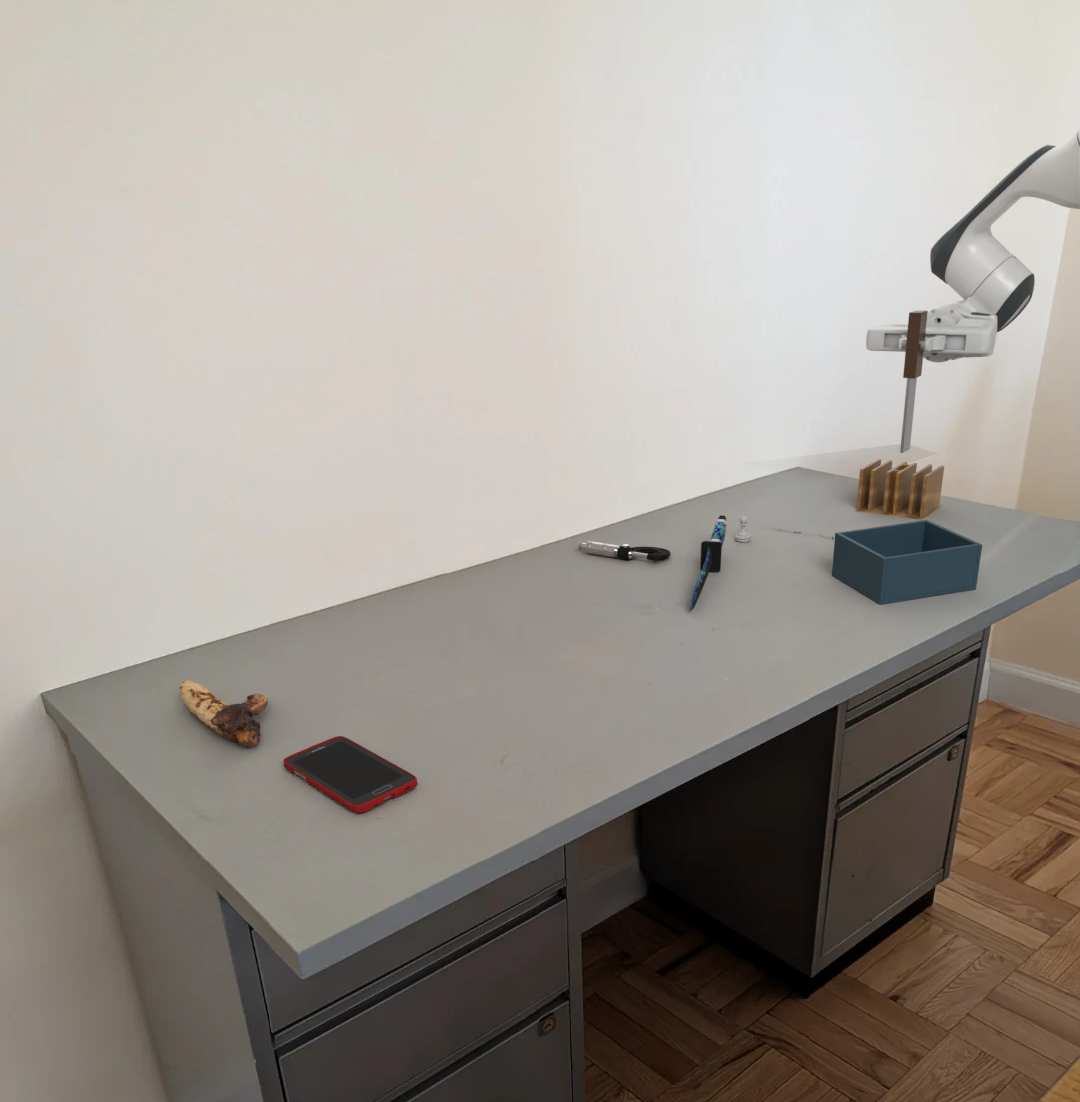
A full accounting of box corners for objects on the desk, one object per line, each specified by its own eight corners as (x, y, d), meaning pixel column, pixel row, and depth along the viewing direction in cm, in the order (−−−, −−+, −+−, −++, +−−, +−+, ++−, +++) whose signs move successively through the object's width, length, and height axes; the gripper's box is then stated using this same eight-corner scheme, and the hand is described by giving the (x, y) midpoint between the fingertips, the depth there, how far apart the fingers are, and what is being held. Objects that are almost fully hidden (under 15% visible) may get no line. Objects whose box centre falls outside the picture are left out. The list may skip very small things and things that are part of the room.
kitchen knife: (895, 452, 174) (908, 312, 164) (902, 448, 176) (915, 310, 167) (907, 453, 173) (921, 312, 163) (914, 449, 175) (928, 310, 165)
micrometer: (678, 553, 168) (678, 538, 167) (656, 566, 163) (656, 551, 162) (599, 541, 176) (599, 527, 175) (576, 553, 171) (576, 538, 170)
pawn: (733, 541, 172) (734, 518, 170) (736, 537, 174) (736, 513, 172) (749, 542, 171) (750, 518, 169) (751, 537, 173) (752, 514, 172)
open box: (922, 562, 158) (926, 519, 155) (976, 589, 147) (982, 544, 144) (831, 575, 155) (834, 532, 152) (879, 604, 144) (884, 558, 141)
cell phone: (358, 817, 101) (357, 808, 101) (280, 767, 111) (279, 759, 110) (421, 786, 106) (420, 778, 105) (341, 741, 115) (340, 733, 115)
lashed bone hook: (305, 736, 118) (237, 686, 131) (300, 699, 116) (232, 651, 129) (228, 762, 113) (165, 707, 126) (222, 724, 111) (158, 671, 123)
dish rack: (852, 517, 181) (856, 470, 177) (874, 503, 187) (879, 457, 184) (921, 526, 174) (926, 477, 170) (941, 511, 181) (947, 464, 177)
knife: (717, 538, 170) (717, 512, 167) (736, 539, 169) (735, 513, 166) (672, 625, 146) (670, 597, 144) (693, 627, 145) (692, 598, 143)
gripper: (885, 313, 181) (852, 323, 171) (1007, 314, 169) (980, 325, 159) (881, 351, 183) (849, 363, 174) (1002, 355, 172) (975, 368, 162)
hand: (913, 345), depth 167 cm, fingers closed on kitchen knife, 2 cm apart
